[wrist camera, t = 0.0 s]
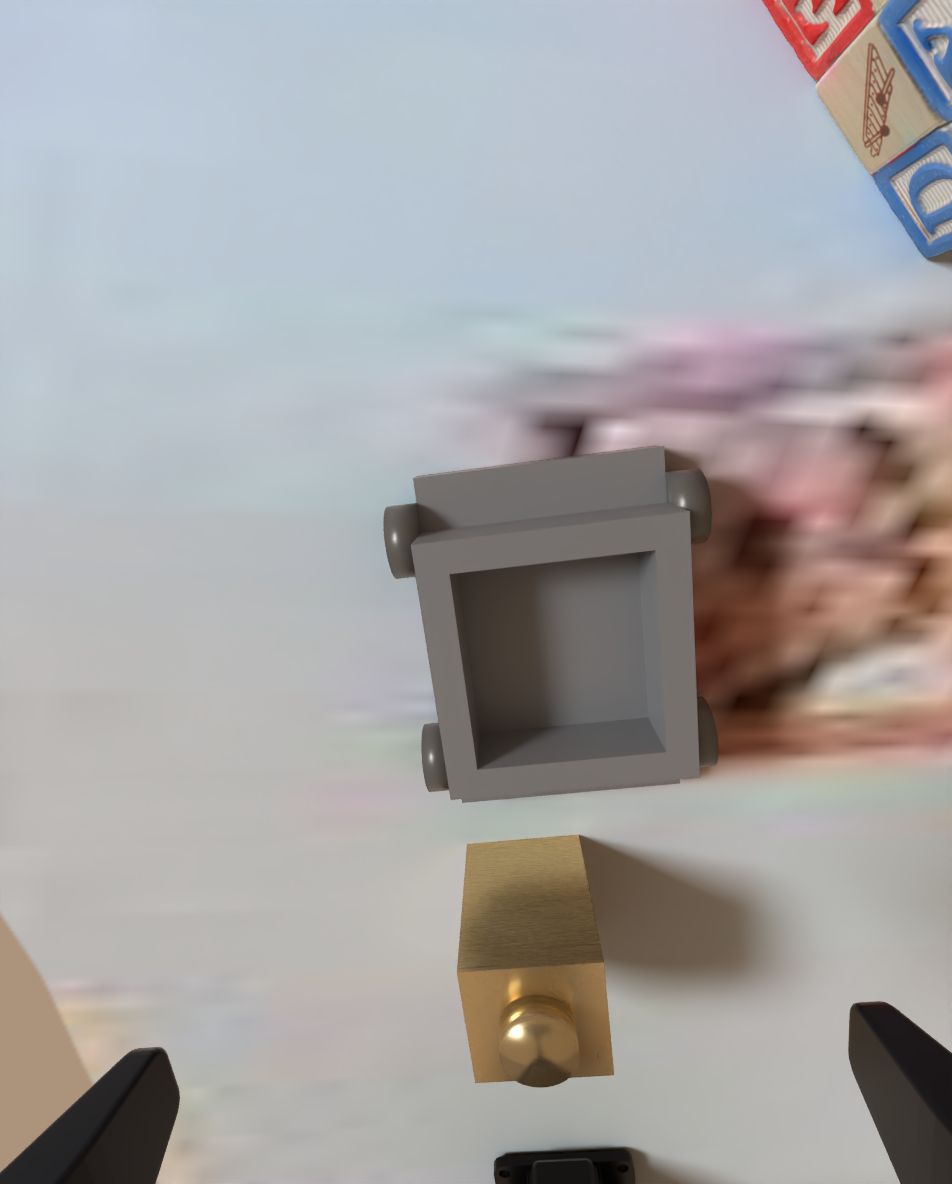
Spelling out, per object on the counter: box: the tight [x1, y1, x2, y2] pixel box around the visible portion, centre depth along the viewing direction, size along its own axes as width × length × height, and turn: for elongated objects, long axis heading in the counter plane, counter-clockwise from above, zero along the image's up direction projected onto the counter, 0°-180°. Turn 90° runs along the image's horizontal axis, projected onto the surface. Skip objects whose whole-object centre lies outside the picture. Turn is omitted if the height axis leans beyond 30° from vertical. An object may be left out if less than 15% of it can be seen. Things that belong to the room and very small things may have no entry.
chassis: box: [384, 446, 718, 803], centre depth 20 cm, size 12×10×4 cm
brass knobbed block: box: [457, 835, 614, 1087], centre depth 21 cm, size 4×4×7 cm
